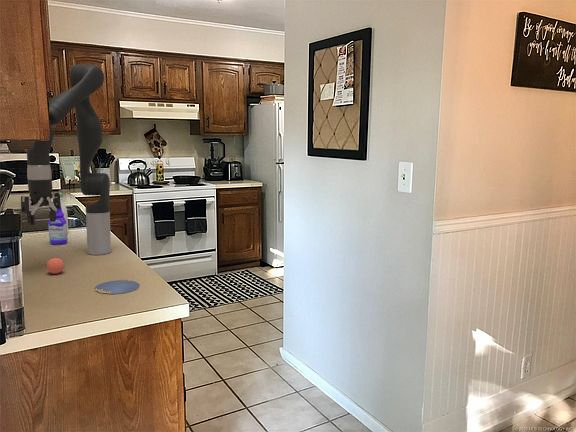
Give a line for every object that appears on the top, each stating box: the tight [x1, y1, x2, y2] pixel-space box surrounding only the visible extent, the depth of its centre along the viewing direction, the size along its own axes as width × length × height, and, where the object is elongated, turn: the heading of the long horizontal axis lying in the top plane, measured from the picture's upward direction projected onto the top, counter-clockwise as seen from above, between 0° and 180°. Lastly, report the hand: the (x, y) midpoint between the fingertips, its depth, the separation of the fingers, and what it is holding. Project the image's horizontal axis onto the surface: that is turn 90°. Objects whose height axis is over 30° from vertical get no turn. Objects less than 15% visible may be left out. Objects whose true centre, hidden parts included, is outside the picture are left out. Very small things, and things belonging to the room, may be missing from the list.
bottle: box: [47, 207, 68, 246], centre depth 211 cm, size 7×6×17 cm
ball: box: [46, 257, 65, 275], centre depth 169 cm, size 6×6×6 cm
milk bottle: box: [58, 192, 69, 235], centre depth 229 cm, size 8×8×20 cm
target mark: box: [93, 279, 141, 295], centre depth 156 cm, size 14×14×1 cm
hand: (42, 223), depth 169 cm, fingers open, 8 cm apart
